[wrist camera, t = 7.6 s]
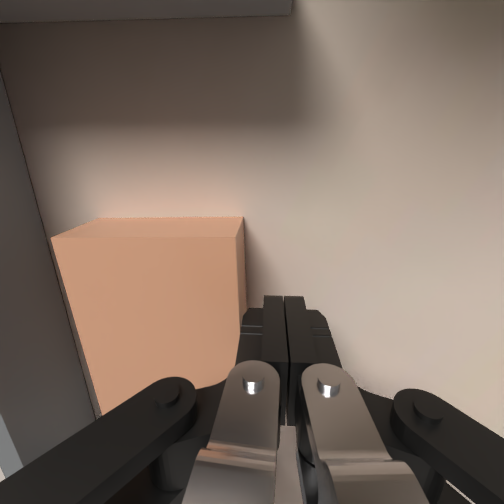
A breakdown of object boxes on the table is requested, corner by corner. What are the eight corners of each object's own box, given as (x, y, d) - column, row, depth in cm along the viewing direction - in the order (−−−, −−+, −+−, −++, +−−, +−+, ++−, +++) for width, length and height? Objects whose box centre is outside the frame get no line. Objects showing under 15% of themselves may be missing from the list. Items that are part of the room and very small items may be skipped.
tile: (244, 214, 11) (235, 237, 9) (249, 369, 14) (244, 424, 11) (103, 216, 12) (50, 237, 9) (135, 365, 15) (103, 418, 12)
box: (291, -26, 8) (309, -171, 5) (272, 465, 16) (273, 561, 12) (-53, -14, 9) (-286, -132, 5) (88, 453, 17) (35, 541, 13)
